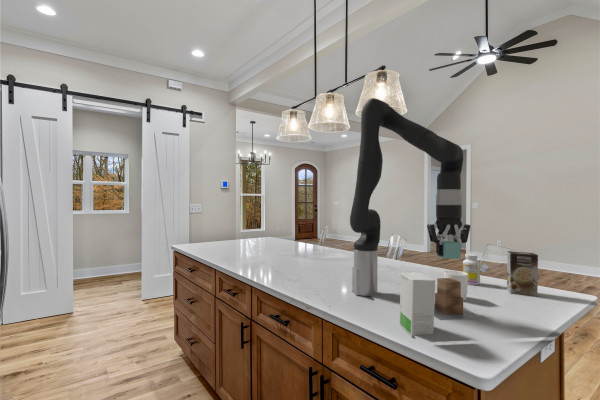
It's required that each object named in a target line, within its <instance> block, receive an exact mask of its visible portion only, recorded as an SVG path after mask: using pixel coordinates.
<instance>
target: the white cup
mask: <svg viewBox="0 0 600 400" xmlns="http://www.w3.org/2000/svg"><path fill="white" fill-rule="evenodd" d="M444 278H452V279H455V280H457V281H460V282H461V297H462V298H463V301H467V295H468V286H469V284H468V273H465V272H463V271H461V270H460V271H459V270H445V271H444Z"/></svg>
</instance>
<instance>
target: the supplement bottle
mask: <svg viewBox="0 0 600 400" xmlns="http://www.w3.org/2000/svg"><path fill="white" fill-rule="evenodd" d="M462 272H465V273H468V286H470V285H471V286H478V285H480V284H481V263H480V261H479V260H478V255H477V254H474V253H473V254H472V253H465V259H464V260H463V261H462Z"/></svg>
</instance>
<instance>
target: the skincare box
mask: <svg viewBox="0 0 600 400" xmlns="http://www.w3.org/2000/svg"><path fill="white" fill-rule="evenodd" d="M399 292H400V293H399V294H400V295H399V297H400V300H399V302H400V303H399V323H398V324H399V326H400V327H401V329H403V331H405V332H406V333H407V335H409V336H410V338H416V335H417V336H418V335H419V336H420V335H434V331H435V329H434V327H435V326H434V325H435V316H434V304H435V293H436V280H435V279H434V278H431V277H430V276H429V275H426V274H424V273H422V272H413V271H412V272H400V291H399Z"/></svg>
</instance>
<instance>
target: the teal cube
mask: <svg viewBox="0 0 600 400" xmlns="http://www.w3.org/2000/svg"><path fill="white" fill-rule="evenodd" d="M442 245H443V256H438V254H437V253H436V256H437V257H440V258H442V259H445V260H446V259H447V260H449V259H454V260H457V259H461V256H462V255H461V254H462V244H461V243H459V242H455V241H453V240H444V242H443V244H442Z"/></svg>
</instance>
